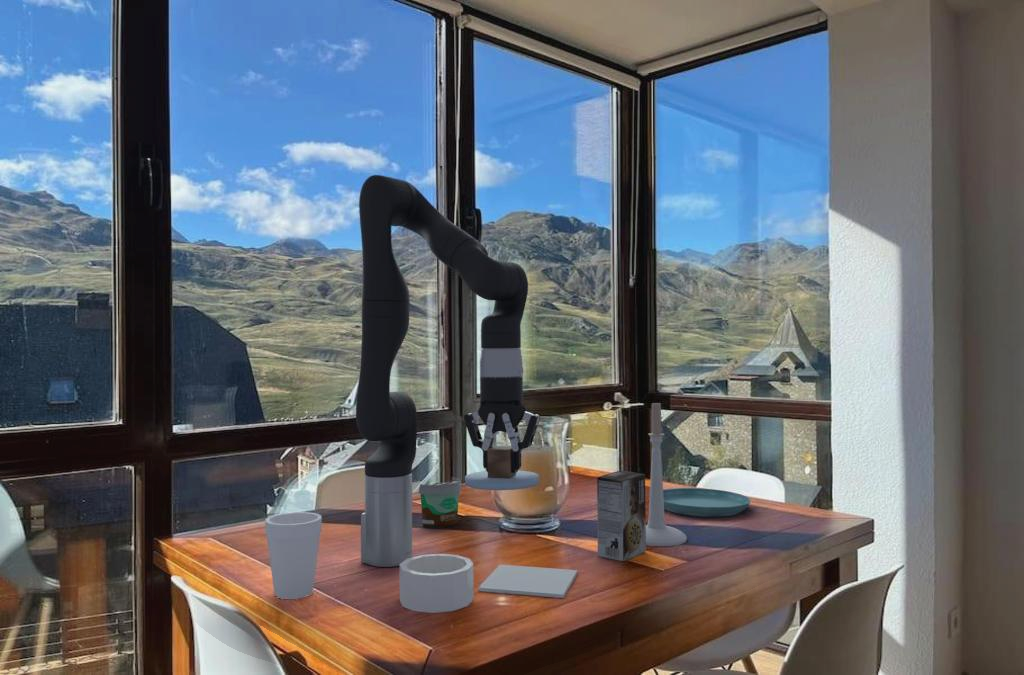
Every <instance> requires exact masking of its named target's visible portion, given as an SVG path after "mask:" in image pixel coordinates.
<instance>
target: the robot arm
mask: <svg viewBox="0 0 1024 675" xmlns="http://www.w3.org/2000/svg"><path fill="white" fill-rule="evenodd" d="M358 199H359V200H358V210H359V212H358V214H359V224H360V225H359V227H360V234H361V249H362V291H361V292H362V294H361V350H360V353H361V354H360V366H359V368H360V369H359V377H358V379H359V380H358V386H357V393H356V394H357V396H356V403H355V404H356V405H355V419H356V426H357V429H358V432H359V434H360V435H361V436H362V438H363V439H365V440H366V441H369V442H379V441H380V443H379V445H378V448H377V449H376V451H375V452H374V453H373V454H371V456H369V457H368V458H367V459H366V460H365V462H364V512H362V513H361V514H360V563H362V564H366V565H369V566H372V567H377V568H378V567H379V568H381V567H382V568H388V567H389V568H390V567H392V568H393V567H398V566H399V567H400V564H401V563H402V562H403V561H405V560H406V559H409V558H413V464H414V462H415V459H416V456H417V455H416V454H417V441H418V439H417V438H418V412H417V408H416V404H415V402H414V400H413V398H412V397H411V396H410V395H409V394H407V392H403V391H390V389H391V388H390V387H391V386H390V384H391V374H392V373H391V372H392V368H393V364H394V361H395V360H396V357H397V355H398V353H399V350H400V349H401V346H402V345H403V342H404V341H405V338H406V336H407V333H408V330H409V326H410V298H411V297H410V291H409V287H408V285H407V284H408V283H407V281H406V279H405V276H404V274H403V272H402V270H401V268H400V266H399V265H400V264H399V263H398V261H397V258H396V256H395V253H394V247H393V241H392V240H393V239H392V227H402V228H405V229H407V230H409V231H411V232H414V233H416V234H417V235H419V236H420V237H421V238H422V239H424V240H425V242H426V243H427V245H428V246H427V247H428V249H429V250H430V251H431V253H432V254H433V255H434V256H435V257H436V258H437V259H438V260H439V261H440V262H442V264H444V265H446V266H447V267H448V268H449V269H451V270H452V271H453V272H454V273H456V274H458V275H459V278H461V280H462V281H463V282H464V284H465V285H466V286H467V287H468V288H469V290H470V291H472V292H473V293H474V294H475V295H477V296H478V297H480V298H482V299H484V300H488V301H493V302H494V305H493V306H494V307H493V311H492V313H491V314H489V315H486V316H484V317H483V318H482V320H481V324H480V356H479V357H480V358H479V394H480V395H479V399H480V400H479V401H480V404H479V407H478V409H477V411H474V412H469V413H466V414H464V416H463V420H464V423H465V426H466V428H467V432H468V436H469V438H470V442H471V444H472V447H475V448H479V449H481V450H482V466H483V468H484V469H485V471H487V472H488V454H487V449H489V448H491V447H493V446H494V442H495V438H496V435H497V432H503V433H506V434H507V438H508V440H509V442H510V446H511V447H512V452H511V472H512V473H516V472H518V471H520V469H521V468H522V451H523V449H524V450H525V449H527V448H529V447H531V446H532V445H533V442H534V438H535V436H536V432H537V429H538V425H539V423H540V420H541V415H539V414H537V413H536V414H534V413H531V412H529V411H527V409H526V408H525V407H524V390H523V389H524V385H523V381H524V380H523V378H524V377H523V375H524V367H523V356H522V349H521V347H522V339H521V336H522V335H521V323H522V320H523V317H524V313H525V308H526V303H527V299H528V293H529V281H528V280H529V279H528V277H527V276H528V275H527V274H526V271H525V269H524V268H523V267H522V266H521V265H520V264H518V263H516V262H512V261H503V260H498V259H497V260H496V259H494V258H492V257H490V256H489V252H488V250H487V248H486V247H485V246H484V244H483V243H481V241H479V240H477V239H476V238H475V237H473V236H472V235H470V234H469V233H468V232H466V231H465V230H463V229H461V228H460V227H459V226H457V225H456V224H455V223H453V222H452V221H450V220H449V219H448V218H447V217H446V216H444V215H443V214H442V213H441V212H440V211H439V210H438V209H437V208H436V207H435V206H434V205H433V204H432V203H431V202H430V201H429V200H428V199H427V198H426V197H425V195H424V194H422V192H421V191H420V190H419V189H417V187H416V186H415V185H413V184H412V183H410V182H409V181H406V180H402V179H400V178H394V177H390V176H387V175H382V174H375V175H374V174H373V175H370V176H368V178H366V179H365V181H364V182H363V183H362V186H361V189H360V193H359V198H358ZM479 418H480V419H481V421H482V423H483V424H484V425H485V430H484V433H483V434H484V435H483V437H484V438H483V437H482V435H481V431H480V428H479V422H480V419H479ZM523 419H525V421H524V423H525V425H526V429H525V433H524V436H523V439H521V433H520V430H519V424H520V423H521V422H522V420H523Z"/></svg>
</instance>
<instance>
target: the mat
mask: <svg viewBox="0 0 1024 675" xmlns="http://www.w3.org/2000/svg"><path fill="white" fill-rule="evenodd" d="M577 575H578V570H577V569H566V568H564V569H563V568H552V567H540V566H539V567H537V566H525V565H523V566H522V565H512V564H499V565H498V566H497V567H496V568H495V569H494V570H493V571H492V572H491V573H490V574H489V575H488V577H487V578H486V579H484V581H483V582H482V583H481V584H480V585H479V586H478V592H486V593H487V592H488V593H498V594H509V595H510V594H511V595H521V596H522V595H523V596H534V597H544V598H545V597H546V598H557V599H564V598H565V596H566V595H567V593H568V591H569V589H570V587H571V586H572V584H573V583H574V581H575V579H576V577H577Z"/></svg>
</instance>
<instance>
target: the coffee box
mask: <svg viewBox="0 0 1024 675" xmlns="http://www.w3.org/2000/svg"><path fill="white" fill-rule="evenodd" d="M596 480H597V481H596V482H597V485H596V486H597V491H596V492H597V493H596V494H597V504H596V505H597V556H598V557H601V558H604V559H605V558H606V559H610V560H614V561H619V562H626V561H628V560H629V559H631V558H634V557H636V556H638V555H640V554H643V553H645V552H646V551H647V545H646V525H647V523H646V522H647V521H646V518H647V517H646V514H647V513H646V474H645V473H640V472H639V473H637V472H633V471H628V470H626V471H625V470H617V471H614V472H610V473H606V474H603V475H600V476H597V477H596Z"/></svg>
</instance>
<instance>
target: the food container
mask: <svg viewBox="0 0 1024 675" xmlns="http://www.w3.org/2000/svg"><path fill="white" fill-rule="evenodd" d="M462 490H463V485H462V482H461V479H459V478H457V477H453V476H452V477H451V480H449V481H446V482H435V483H433V484H421V483H420V484H419V487H418V494H420V503H421V504H420V505H421V517H422V518H421V519H422V527H423V528H447V527H452V526H455V525H456V524H457V523H458V512H459V511H458V510H459V500H460V492H461V491H462Z"/></svg>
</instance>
